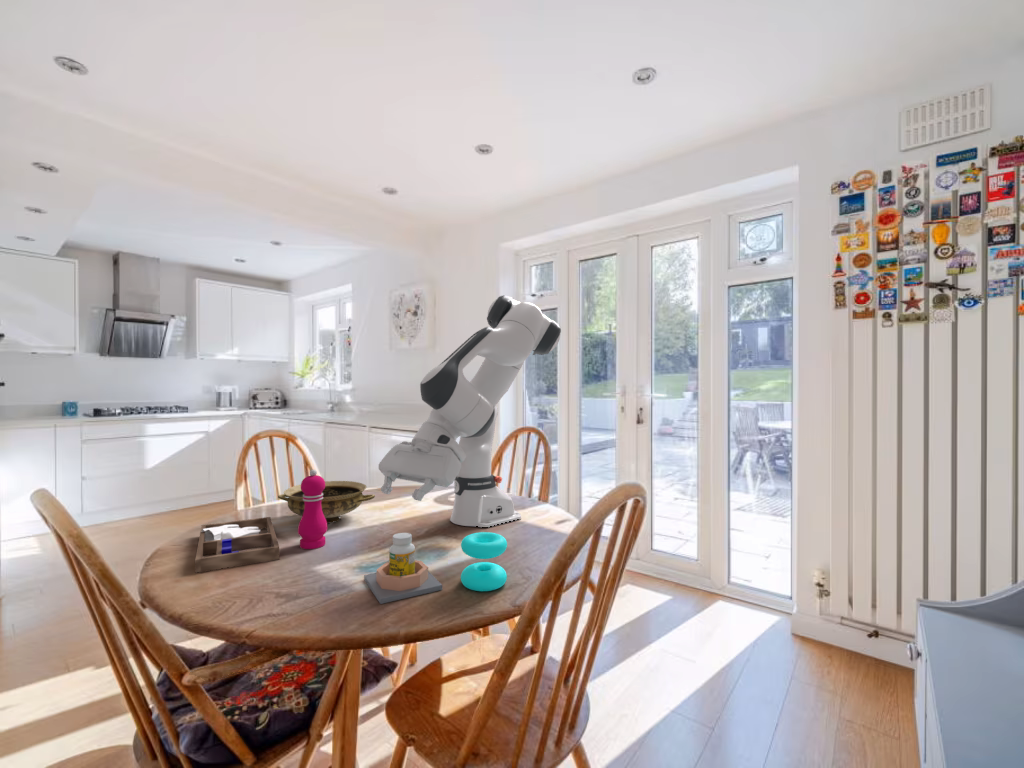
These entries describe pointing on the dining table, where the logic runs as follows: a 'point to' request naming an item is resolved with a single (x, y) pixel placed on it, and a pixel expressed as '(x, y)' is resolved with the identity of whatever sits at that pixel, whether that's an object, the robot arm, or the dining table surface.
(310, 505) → the pepper mill
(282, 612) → the dining table surface
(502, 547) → the donuts
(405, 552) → the supplement bottle
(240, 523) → the walnut compartment tray
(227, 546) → the cable holder
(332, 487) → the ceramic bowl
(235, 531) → the white tapered wedge pair
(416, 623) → the dining table surface
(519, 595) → the dining table surface
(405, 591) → the collar holder
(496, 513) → the robot arm
